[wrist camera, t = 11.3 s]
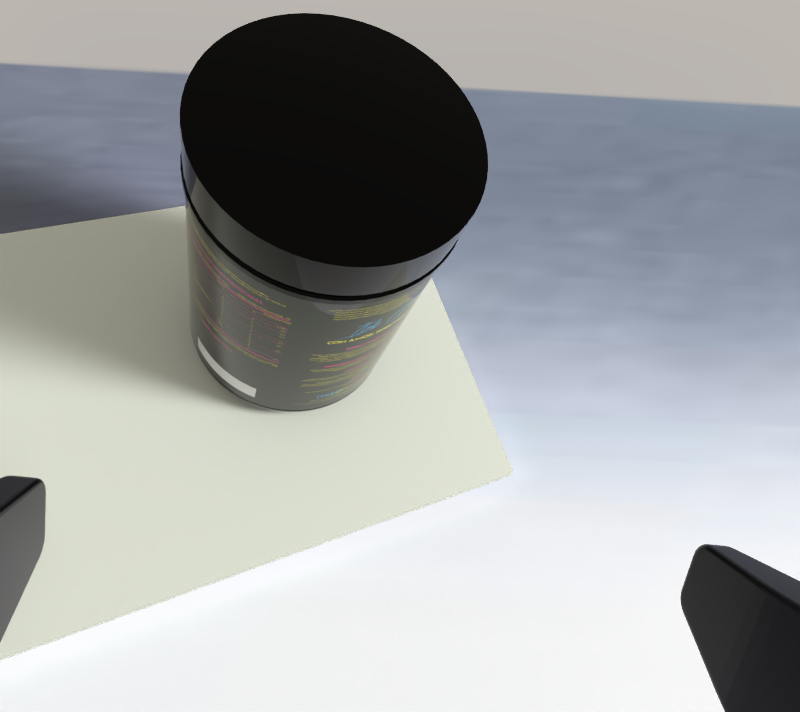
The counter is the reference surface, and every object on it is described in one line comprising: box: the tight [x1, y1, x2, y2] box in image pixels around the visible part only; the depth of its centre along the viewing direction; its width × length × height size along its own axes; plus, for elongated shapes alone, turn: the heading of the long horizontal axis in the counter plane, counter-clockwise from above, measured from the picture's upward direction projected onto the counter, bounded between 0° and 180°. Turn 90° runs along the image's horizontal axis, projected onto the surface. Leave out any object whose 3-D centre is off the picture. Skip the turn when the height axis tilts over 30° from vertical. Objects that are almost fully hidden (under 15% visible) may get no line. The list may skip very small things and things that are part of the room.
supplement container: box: [180, 13, 488, 412], centre depth 19 cm, size 7×7×10 cm
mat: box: [0, 206, 513, 660], centre depth 23 cm, size 18×13×1 cm
